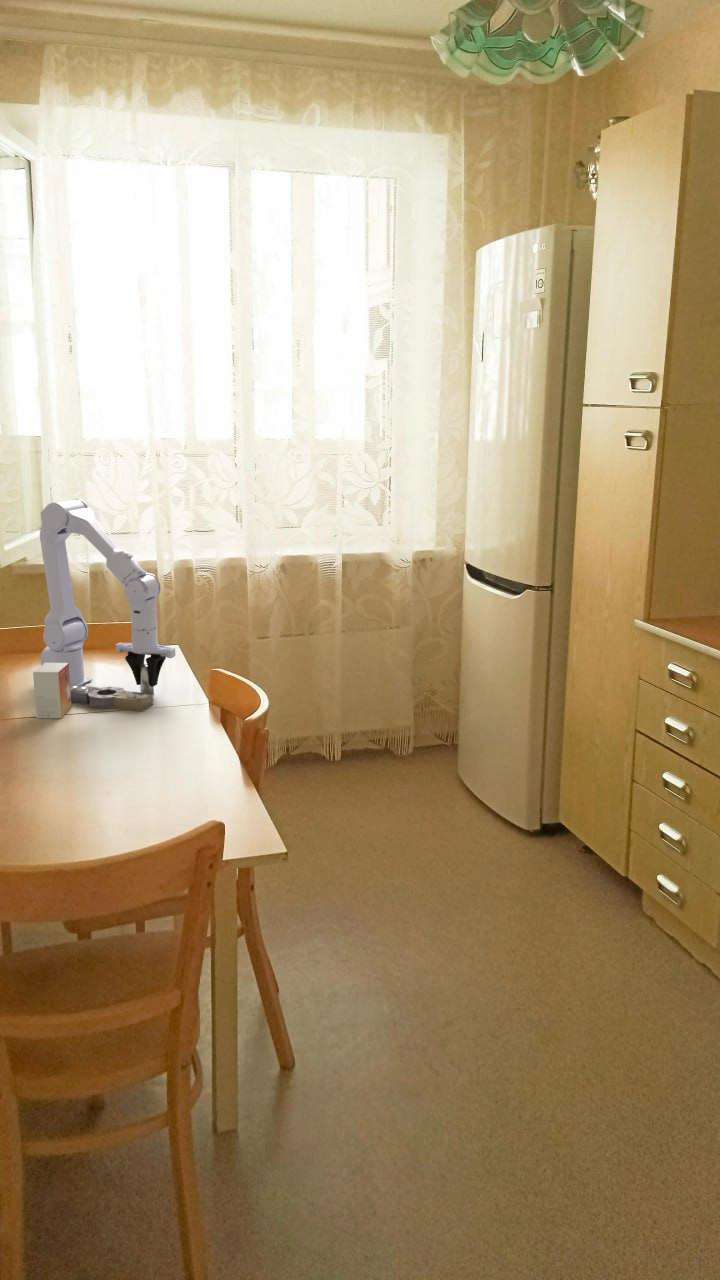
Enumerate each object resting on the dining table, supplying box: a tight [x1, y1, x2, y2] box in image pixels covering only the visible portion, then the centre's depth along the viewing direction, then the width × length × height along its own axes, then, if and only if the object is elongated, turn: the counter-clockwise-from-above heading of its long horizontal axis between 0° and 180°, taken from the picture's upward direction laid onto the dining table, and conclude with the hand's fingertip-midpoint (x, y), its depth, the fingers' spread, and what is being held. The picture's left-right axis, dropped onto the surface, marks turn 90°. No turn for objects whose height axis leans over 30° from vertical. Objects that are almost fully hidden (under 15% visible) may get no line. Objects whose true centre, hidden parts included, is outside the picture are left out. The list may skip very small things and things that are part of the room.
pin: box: [139, 663, 155, 696], centre depth 236 cm, size 3×3×7 cm
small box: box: [32, 663, 72, 719], centre depth 222 cm, size 8×6×10 cm
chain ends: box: [70, 685, 154, 713], centre depth 230 cm, size 21×8×3 cm, turn 71°
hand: (146, 684), depth 236 cm, fingers closed on pin, 3 cm apart
